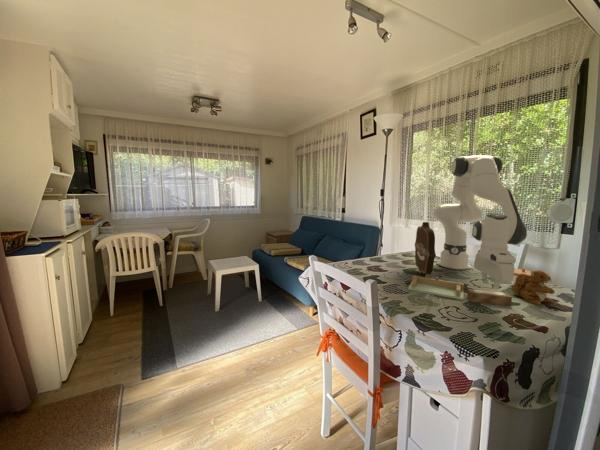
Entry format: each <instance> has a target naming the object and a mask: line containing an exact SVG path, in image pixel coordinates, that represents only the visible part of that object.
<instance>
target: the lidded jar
mask: <svg viewBox="0 0 600 450" xmlns="http://www.w3.org/2000/svg"><path fill="white" fill-rule="evenodd" d="M530 271H531V270H527V269H526V268H522V269H521V268H514V277H513V281H512V282H511V283H510V284H511V285H512V286H514V284H515V282H516V278H517V276H518V275H519V274H527V275H529V276H531V273H530Z"/></svg>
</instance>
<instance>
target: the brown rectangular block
mask: <svg viewBox="0 0 600 450" xmlns="http://www.w3.org/2000/svg"><path fill="white" fill-rule="evenodd" d="M466 297H467V299H468V300H469V301H470V302H472V303H481V304H490V305H500V306H512V300H513V299H512V296H511V295H510V294H509V293H507V292H504V291H503V292H502V291H494V290H492V291H491V290H484V289H483V290H481V289H472V288H468V289H467V295H466Z"/></svg>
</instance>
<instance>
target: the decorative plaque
mask: <svg viewBox="0 0 600 450" xmlns="http://www.w3.org/2000/svg"><path fill="white" fill-rule="evenodd" d="M415 235H416V237H415V243H414V249H415V251H414V261H415V262H414V263H415V265H416V267H417V268H418V269H417V270H418V271H419V272H418V273H419V276H420V275H422V276H421V277H426V275H432V273H433V271H434V263H435V259H436V256H437V255H436V246H435V245H436V237H435V236H436V235H435V231H434V230H433V229H432V228H431V227H430V223H429V221H428V222H427V221H426V222H425V221H423V222H422V224H421V226H417V228H416V233H415Z"/></svg>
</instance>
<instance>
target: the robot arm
mask: <svg viewBox="0 0 600 450" xmlns="http://www.w3.org/2000/svg"><path fill="white" fill-rule="evenodd" d="M450 168H451V173H452V175H453V176H455V179H454V184H453V187H452V191H451V194H452V197H453V198H454V199H455V200H457V201H459V203H443V204H438V205H437V206H436V207H435V209H434V212H433V214H434V218H435V219H436V220H437V221H438V222H440V223H441V225H442V227H443V228H444V233H445V235H444V236H445V239H444V243H443V250H442V251H440V255H439V256H440V257H439V261H436V263H435V264H436V265H439V266H441V267H443V268H447V269H454V270H469V269H470V270H471V269H473V268H472V265H470V263H469V261H470V260H469V257H470V255H469V253H467V248H468V247H467V235H468V234H467V231H466V230H465V229H463V228H461V227H459V226H458V223H473V222H475V223H473V225H472V235H471V236H472V237H473V239H475V240H476V241H478V242H481V243H480V249H479V250H478V251H477V253H476V255H475V258H474V263H473V266H474V269H475V270H478V271H480V275H481V279H482V280H481V282H482V283H484V284H489V282H490V280H489V278H488V277H490V278H493V281H494V282H493V283H491V288H492V289H493V290H499V289H500V285H501V284H502V283H507V284H512V283H511V282H512V281H513V277H514V269H515V265H514V264H515V263H516V262H517V259H516V257H515V256H514V255H513V254H511V252H510V251H509V250H508V248H509V246H508V245H514V246H517V245H519V244H520V243H522V242H524V240H526V238H527V236H528V233H527V232H528V231H527V227H526V225H525V223H524V222H523V220H522V218H521V216H520V213H519V210H518V206H517V204H516V202H515V198H514V196H513V193H512V192H511V189H509V188H507V187H505V185H503V184H502V182H501V180H500V176H499V175H500V173H501V171H502V169H503V160H502V158H501V157H500V156H496V155H469V156H467V155H466V156H464V155H462V156H458V157H456V158H454V160H453V162H452V163H451V167H450ZM475 196H476V197H479V198H481V199H484V200H488V201H490V202H493V203H496V204H497V205H499V206H500V207H501V209H502V211H503V213H502V214H501V213H488V214H485V215H484V218H483V214H484V213H483V209H482V206H480V205H478V203H477V202H476V199H475ZM482 218H483V219H482ZM481 219H482V220H481Z"/></svg>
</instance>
